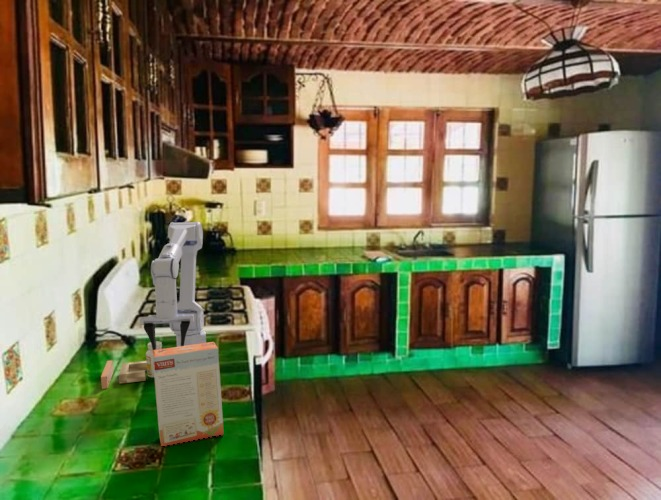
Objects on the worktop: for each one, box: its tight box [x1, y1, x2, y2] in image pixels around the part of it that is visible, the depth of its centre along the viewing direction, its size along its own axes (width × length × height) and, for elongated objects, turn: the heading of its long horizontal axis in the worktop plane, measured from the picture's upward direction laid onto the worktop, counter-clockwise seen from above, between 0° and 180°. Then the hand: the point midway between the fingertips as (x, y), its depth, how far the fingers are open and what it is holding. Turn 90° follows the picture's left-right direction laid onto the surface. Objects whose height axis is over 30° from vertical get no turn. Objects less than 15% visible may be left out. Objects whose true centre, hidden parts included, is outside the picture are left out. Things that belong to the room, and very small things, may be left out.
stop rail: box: [100, 360, 115, 390], centre depth 167 cm, size 2×14×4 cm, turn 14°
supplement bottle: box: [145, 340, 163, 378], centre depth 170 cm, size 5×5×10 cm
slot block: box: [118, 360, 147, 384], centre depth 169 cm, size 7×10×3 cm
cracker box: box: [152, 341, 225, 447], centre depth 129 cm, size 14×6×21 cm, turn 110°
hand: (168, 348), depth 162 cm, fingers open, 7 cm apart
